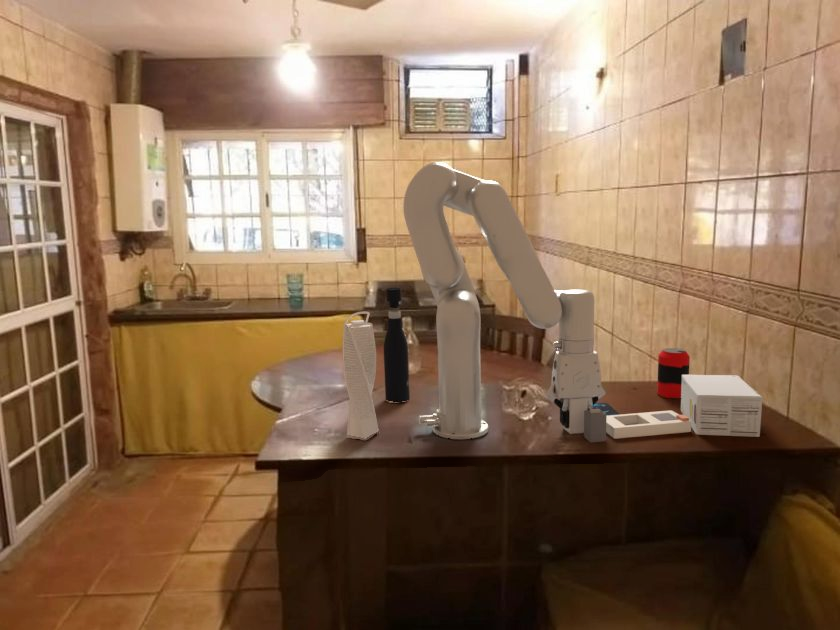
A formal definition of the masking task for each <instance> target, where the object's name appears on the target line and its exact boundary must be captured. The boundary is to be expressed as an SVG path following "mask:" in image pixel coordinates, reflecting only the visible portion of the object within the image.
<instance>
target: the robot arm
mask: <svg viewBox="0 0 840 630" xmlns="http://www.w3.org/2000/svg"><path fill="white" fill-rule="evenodd" d="M444 207H447V208H450V209H451V210H455V211H457V212H459V213H463V214H466V215H469V216H471V217H473V218H474V220H475V222H476V224H477V226H478V229H479V230H480V232H481V234H482V236H483V237H484V239H485V242H486V244H487V246H488V248H489V250H490V252H491V254H492V256H493V258H494V259H495V262H496V263H497V266H498V267H499V268H500V270H501V271H502V273H503V274H504V276H506V279H507V281H508V282H509V284H510V287H511V288H512V289H513V292H514V294H515V295H516V297H517V299H518V301H519V304H520V306H521V308H522V309H523V313H524V314H525V316H526V318H527V320H528V322H529V323H530V324H531V325H532V326H534V327H536V328H538V329H543V330H544V329H545V330H546V329H547V330H548V329H551V328H553V327H555V326H556V325H557V324H558V337H557V341H554V342H552V348H553V349H557V351H555V354H554V359H553V363H552V372H551V385H550V386H549V388H548V389H547V391H546V393H545V395H544V397H545V399H547V400H548V401H550V402H551V403H554V405H556V406H557V408H559V423H560V424H561V426H562V427H563V426H564V427H565V428H569V411H568V403H569V399H576V398H588V408H587V410H590V409H592V408H593V405H594V404H595V403H598V401H599V400H600V399H601V398H603V397H604V396H605V395H606V394H607V393H606V391H605V389H604V387H603V386H602V378H601V377H602V376H601V375H602V374H601V366H600V359H599V353H598V352H597V351H596V350H594V349H595V348H594V347H595V346H594V345H595V343H594V342H595V340H594V339H595V337H594V336H595V295H594V293H593V292H592V291H590V290H588V289H577V288H576V289H575V288H573V289H565V290H557V289H554V286H553V284H552V282H551V281H550V279H549V276H548V274H547V273H546V271H545V269H544V267H543V265H542V263H541V262H540V259H539V256H538V255H537V252H536V250H535V247H534V245H533V244H532V241H531V238H530V237H529V235H528V233H527V231H526V229H525V228H524V225H523V223H522V221H521V219H520V217H519V215H518V213H517V212H516V209H515V207H514V205H513V203H512V202H511V200H510V197H509V195H508V193H507V192H506V190H505V188H504V187H503V186H502V185H501V184H500V183H499V182H496V181H495V180H494V181H493V180H485V179H482V178H479V177H475V176H472V175H470V174H467V173H464V172H462V171H459V170H456V169H453V168H452V167H451V166H450V165H448V164H446V163H444V162H440V161H435V162H434V161H432V162H430V163H427V164H425V165H424V166H422V167H421V168H420V169H419V170H418V171H417V172H416V173H415V174H414V175H413V178H412V179H410V182H409V183H408V185H407V187H406V190H405V193H404V198H403V216H404V220H405V224H406V227H407V231H408V234H409V236H410V240H411V242H412V247H413V250H414V251H415V255H416V258H417V260H418V263H419V264H418V265H419V266H420V271H421V275H422V278H423V279H424V281H425V282H426V284H428V285H429V288H430V291H431V293H432V295H433V298H434V302H435V304H436V306H437V309H436V317H435V321H436V323H435V324H436V325H435V327H436V341H437V342H436V344H437V366H438V367H437V368H438V369H437V370H438V373H437V374H438V408H436V410H435V412H434V413H432V414H430V415H429V414H424V415H418V424H420V425H424V424H425V425H426V427H430V426H432V431H433V433H434V434H435V435H436V436H438V435H439V437H442V438H445V439H448V438H450V439H451V440H472V439H476V438H480V437H482V436H484V435H486V434H487V433H488V432H489V425H488V423H487V422H486V421H485V420H483V419H482V390H481V389H482V386H481V385H482V375H481V374H482V368H481V364H482V363H481V322H482V321H481V310H480V309H481V308H480V303H479V300H478V298H477V294H476V292H475V290H474V286H473V284H472V281H471V277H470V275H469V272H468V269H467V267H466V263H465V260H464V258H463V256H462V254H461V252H459V250H458V249H457V248H456V246H455V243H454V240H453V238H452V235H451V232H450V230H449V229H450V228H449V226H448V223H447V220H446V216H445V214H444ZM555 394H556V396H557V397H556V396H555ZM471 438H472V439H471Z"/></svg>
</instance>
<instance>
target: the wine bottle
mask: <svg viewBox="0 0 840 630" xmlns="http://www.w3.org/2000/svg"><path fill="white" fill-rule="evenodd" d="M385 291H386V292H385V293H386V294H385V295H386V302H387V303H388V302H389V306H388V308H389V310H388V318H387V330H386V333H385V335H384V342H383V363H384V366H383V368H384V370H383V371H384V393H385V394H384V395H385V401H386V400H388V401H393V402H402V401H407V400H409V399H410V374H409V373H410V372H409V371H410V370H409V346H408V340H407V338H406V337H407V336H406V333H405V332H404V329H403V318H402V315H401V310H399V309H400V302H401V301H402V288H401V287H388V288H386V289H385ZM410 400H411V399H410ZM410 400H409V401H410Z"/></svg>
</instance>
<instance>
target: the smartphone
mask: <svg viewBox="0 0 840 630" xmlns="http://www.w3.org/2000/svg"><path fill="white" fill-rule="evenodd" d="M592 409H600V410H601V411H603V412H604V413H605V414H606V416H610V415H621V414H620V413H619V412H618V411H617V410H616V409H614V408H613V407H612V405H610V404H609V402H608V403H607V402H596V403H595V404H594V405H593V408H592Z"/></svg>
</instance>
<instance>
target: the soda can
mask: <svg viewBox="0 0 840 630" xmlns="http://www.w3.org/2000/svg"><path fill="white" fill-rule="evenodd" d="M657 356H658V357H657V358H658V359H657V361H658V362H657V382H656V383H657V385H656V386H657V388H656V393H657V395H658V396H659V397H661V398H664V397H665V398H664V399H670V398H681V385H682V375H690V361H691V359H690V358H691V357H690V355H689V353H688V351H686V349H683V348H676V347H668V348H667V347H666V348H663V349H662V350H661V351H660V352H659V354H658V355H657Z"/></svg>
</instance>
